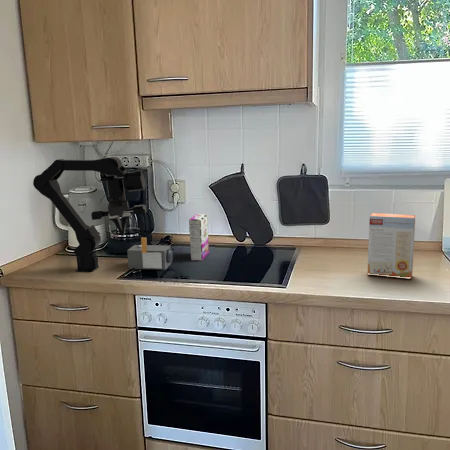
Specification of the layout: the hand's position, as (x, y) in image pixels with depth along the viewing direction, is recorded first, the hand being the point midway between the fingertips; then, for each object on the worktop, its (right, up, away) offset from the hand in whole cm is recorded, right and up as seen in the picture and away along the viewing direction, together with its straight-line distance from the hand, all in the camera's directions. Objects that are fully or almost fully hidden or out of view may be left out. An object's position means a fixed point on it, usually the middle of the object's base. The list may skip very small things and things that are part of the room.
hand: (122, 235), depth 169 cm
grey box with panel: (+9, -11, +6) cm, 16 cm away
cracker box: (+92, -13, -10) cm, 94 cm away
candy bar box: (+27, -9, +18) cm, 33 cm away
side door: (+11, -12, +1) cm, 16 cm away
